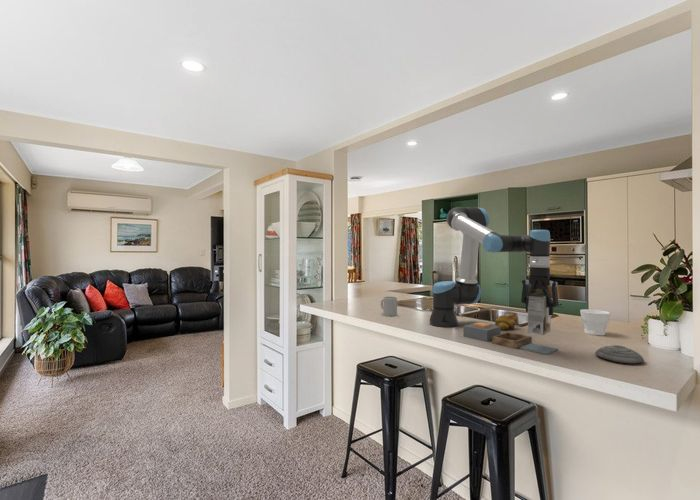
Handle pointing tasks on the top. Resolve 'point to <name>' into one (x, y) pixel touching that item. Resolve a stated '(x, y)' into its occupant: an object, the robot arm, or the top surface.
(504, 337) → the wooden tray
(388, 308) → the mug
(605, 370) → the top surface
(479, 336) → the button housing
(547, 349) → the slate mat
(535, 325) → the coffee box
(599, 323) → the cup
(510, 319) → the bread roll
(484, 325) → the release button
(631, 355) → the grey flat stone
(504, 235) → the robot arm
